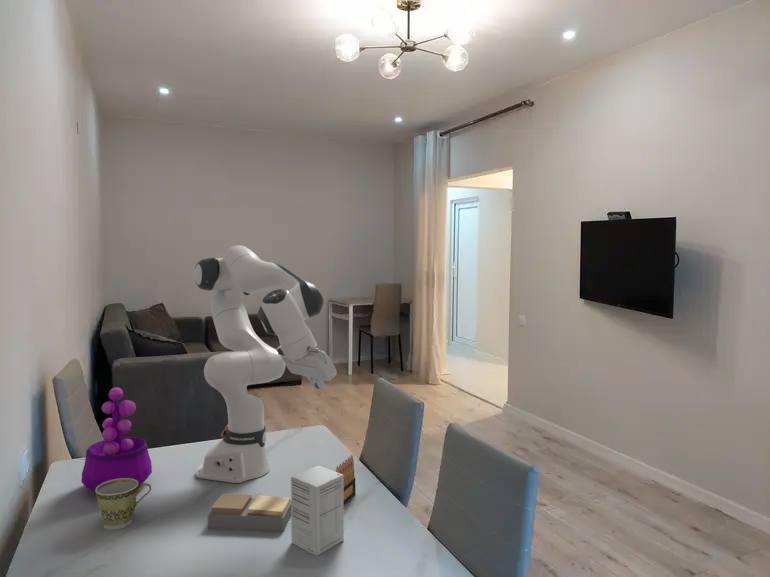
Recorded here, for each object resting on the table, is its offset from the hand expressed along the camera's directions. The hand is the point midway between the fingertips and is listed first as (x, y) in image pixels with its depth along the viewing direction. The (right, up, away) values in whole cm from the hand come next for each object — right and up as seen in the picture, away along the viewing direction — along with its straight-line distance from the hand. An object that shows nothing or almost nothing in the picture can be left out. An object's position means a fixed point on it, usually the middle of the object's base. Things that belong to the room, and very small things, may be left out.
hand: (320, 387), depth 153 cm
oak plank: (-12, -30, -9) cm, 33 cm away
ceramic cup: (-50, -33, -11) cm, 61 cm away
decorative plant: (-61, -31, +10) cm, 70 cm away
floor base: (-17, -33, -9) cm, 38 cm away
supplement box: (+1, -34, -19) cm, 39 cm away
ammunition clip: (+6, -33, +3) cm, 34 cm away
